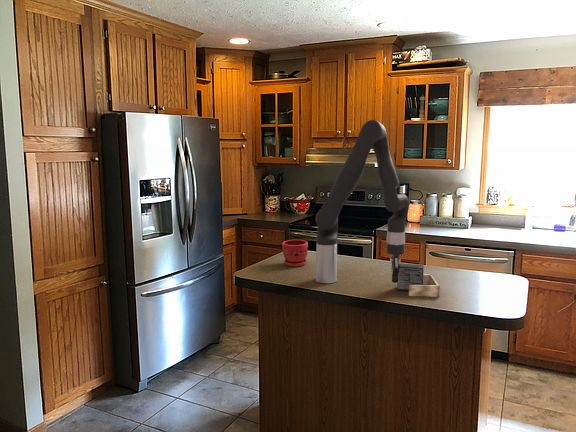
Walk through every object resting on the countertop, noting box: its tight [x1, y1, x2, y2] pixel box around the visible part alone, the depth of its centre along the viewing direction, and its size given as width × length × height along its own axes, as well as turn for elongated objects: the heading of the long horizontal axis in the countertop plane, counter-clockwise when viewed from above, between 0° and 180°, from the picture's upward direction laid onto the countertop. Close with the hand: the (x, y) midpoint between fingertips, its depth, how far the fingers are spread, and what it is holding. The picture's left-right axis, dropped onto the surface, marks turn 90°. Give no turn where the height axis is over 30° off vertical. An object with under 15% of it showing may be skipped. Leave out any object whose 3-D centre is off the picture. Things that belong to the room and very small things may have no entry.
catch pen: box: [408, 273, 441, 298], centre depth 196 cm, size 12×17×4 cm
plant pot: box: [281, 239, 309, 267], centre depth 239 cm, size 13×13×12 cm
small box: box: [396, 262, 425, 292], centre depth 196 cm, size 11×6×10 cm, turn 72°
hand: (394, 282), depth 197 cm, fingers closed
